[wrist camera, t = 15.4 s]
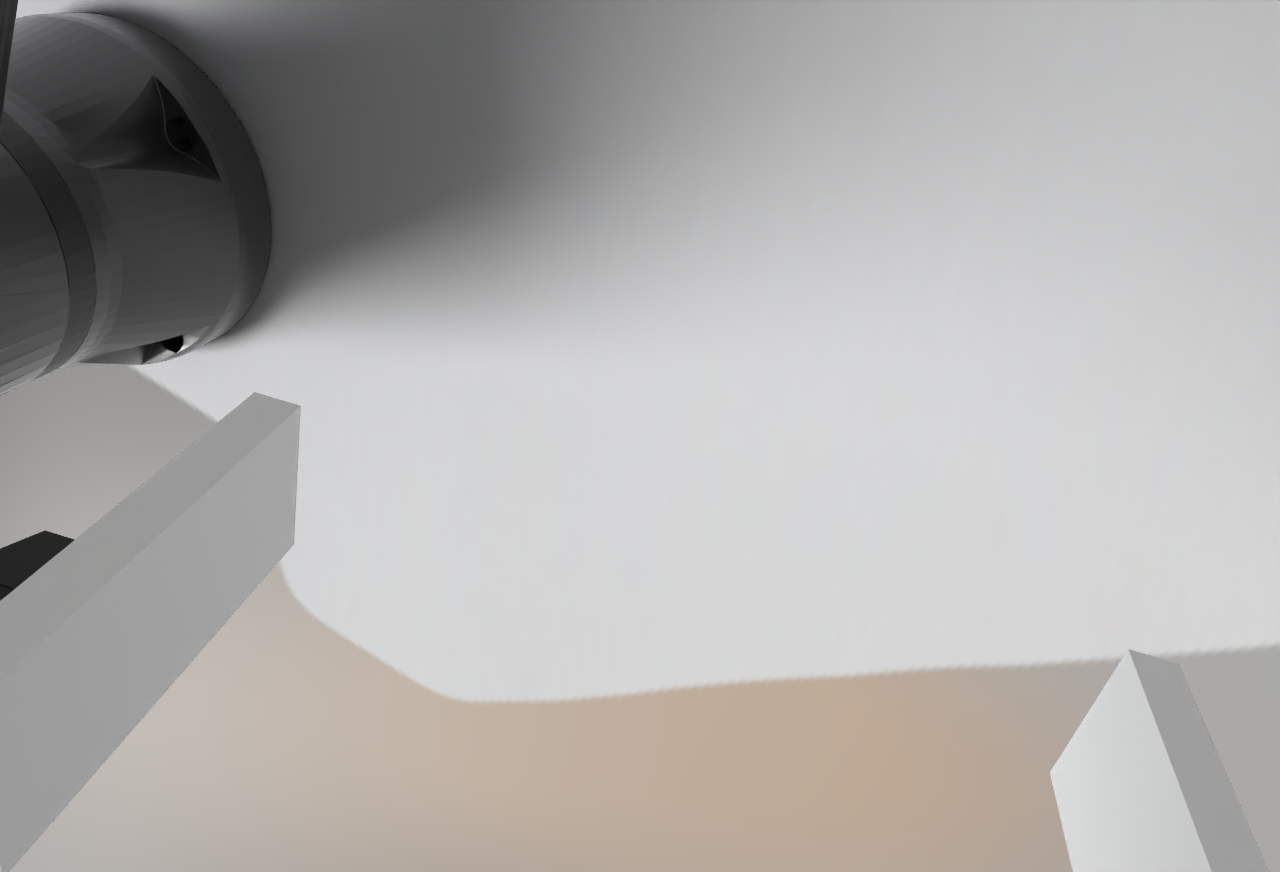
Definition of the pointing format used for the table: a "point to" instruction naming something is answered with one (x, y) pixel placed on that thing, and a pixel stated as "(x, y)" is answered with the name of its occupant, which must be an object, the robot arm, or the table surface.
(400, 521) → the table surface
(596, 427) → the table surface
